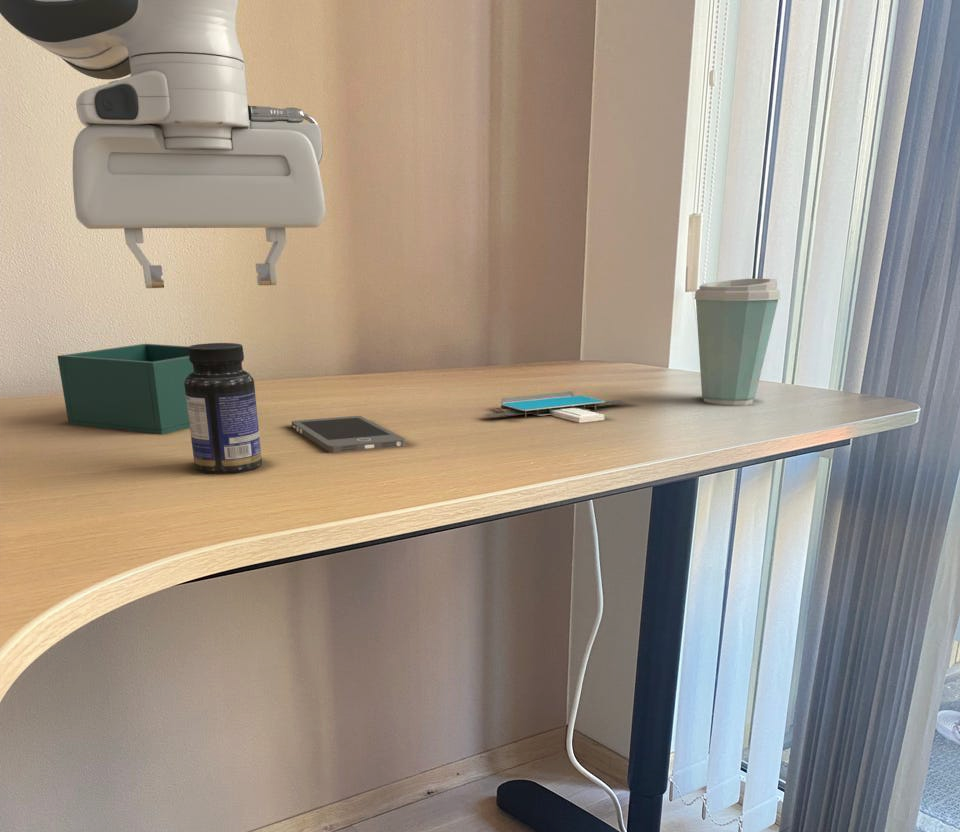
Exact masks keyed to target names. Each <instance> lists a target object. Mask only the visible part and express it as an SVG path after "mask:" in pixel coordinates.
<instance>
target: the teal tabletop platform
mask: <svg viewBox="0 0 960 832" xmlns="http://www.w3.org/2000/svg"><path fill="white" fill-rule="evenodd" d="M621 403H625V401H624V400H618V399H617V400H607V401H605V400H603V399H599V398H594V397H590V396H585V395H574V391H573V390H572V391H564V392H562V391H561V392H554V393H553V392H551V393H542V394H541V393H540V394H531V395H522V396H521V395H520V396H511V397H502V398H501V399H500V401H499V404H500V407H501V408H497V407H496V408H494V411H496V413H486V414H485V416H488V417H491V418H492V417H493V418H494V417H501V416H502V417H503V416H508V417H509V416H519V415H525V416H524V417H525V418H527V415H535V416H537V417H541V416H542V417H543V416H552V417H557V418H560V419H563V420H567V421H572V422H575V423H579V424H580V423H581V424H582V423H589V422H598V421H605V414H603V413H599V412H595V411H591V410H590V409H588V408H593V407H594V410H597V407H602V406H609V405H614V404H621ZM497 412H498V413H497Z"/></svg>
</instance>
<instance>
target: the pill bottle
mask: <svg viewBox="0 0 960 832" xmlns="http://www.w3.org/2000/svg"><path fill="white" fill-rule="evenodd" d="M188 351H189V360H190V362H191V363H192V364H193V368H194V371H193V373H191V374H189V375H188V376H187V378H186V380H185V383H184V384H185V393H186V401H187V409H188V417H189V425H190V427H189V431H190V439H191V440H190V441H191V446H192V456H193V465H194V468H195V470H196V471H198V472H199V473H203V474H208V475H209V474H210V475H211V474H212V475H233V474H241V473H247V472H251V471H255V470H258V469H260V467H262V464H263V458H262V449H261V441H260V440H261V438H260V428H259V417H258V408H257V407H258V406H257V399H256V398H257V397H256V396H257V395H256V387H255V379H254V377H253V376H252V375H251V373H249V372H248V371H246V370H244V369H243V361H244V360H245V354H244V348H243V344H241V343H235V342H233V343H232V342H210V343H209V342H207V343H198V344H192V345H189V347H188Z"/></svg>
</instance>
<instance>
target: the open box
mask: <svg viewBox="0 0 960 832" xmlns="http://www.w3.org/2000/svg"><path fill="white" fill-rule="evenodd" d="M189 346H190V345H189ZM189 346H188V345H187V346H186V345H171V344H156V343H139V344H133V345H132V344H131V345H126V346H119V347H111V348H104V349H103V348H102V349H96V350H89V351H81V352H75V353H68V354H61V355H57V363H58V369H59V374H60V375H59V376H60V380H61V386H62V392H63V398H64V404H65V405H64V406H65V411H66V416H67V423H68V425H75V426H83V427H84V426H85V427H94V428H103V429H111V430H121V431H129V432H130V431H131V432H138V433H146V434H148V433H149V434H156V435H165V434H168V433H172V432H176V431H180V430H184V429H189V428H190V425H189V417H188V409H187V401H186V393H185V384H184V383H185V380H186V378H187V376H188V375H189V374H191V373H193V371H194V368H193V364H192V363H191V362H190V360H189V351H188V347H189Z"/></svg>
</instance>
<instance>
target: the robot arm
mask: <svg viewBox="0 0 960 832" xmlns="http://www.w3.org/2000/svg"><path fill="white" fill-rule="evenodd" d="M238 9H239V0H0V15H1V16H2V17H3V18H4V20H5V21H6V22H7V23H8V24H10V25H11V26H12V27H13V28H14V29H15V30H17V31H18V32H19V33H20V34H21V35H22V36H24V37H26V38H27V39H29V40H30V41H31V42H33V43H35V44H37V45H38V46H40V47H42V48H43V49H44V50H46V51H48V52H50V53H52V54H53V55H56V56H57V57H59V58H61V59H62V61H64V62H65V63H66V64H67V65H69V66H70V67H71V68H72V69H74V70H76V71H77V72H79V73H80V74H82V75H85V76H87V77H90V78H93V79H97V80H98V79H99V80H105V81H106V80H108V81H109V80H113V81H109V82H108V83H105V84H101V85H98V86H95V87H92V88H88V89H85V90H84V91H82V92H80V93H79V95H78V96H77V98H76V102H75V106H76V113H77V117H78V120H79V122H80V123H81V125H83V126H84V128H83V129H81V130H80V131H79V133H77V136H76V138H75V139H74V144H73V148H72V190H73V191H72V192H73V202H74V211H75V217H76V219H77V221H78V222H79V223H80V224H81V225H82V226H83V227H85V228H87V229H88V230H98V229H99V230H109V229H111V230H115V229H119V230H121V229H123V233H124V240H125V244H126V246H127V248H128V249H129V250H130V252H131V253H132V254H133V256H134V257H135V259H136V260H137V262H138V263H139V265H141V266H142V271H143V279H144V285H145V289H164V288H165V282H164V278H163V277H162V276H163V273H164V272H163V266H162V265H161V264H151V262H150V261H149V259H148V258H147V257H146V255H145V254H144V253H143V251H142V249H141V248H140V246H139V245H138V244H144V242H145V240H144V231H143V229H251V228H253V229H259V228H260V229H261V228H262V229H263V228H264V229H265V240H266V242H268V243H271V247H270V250H269V251H268V254H267V255H266V258H265V260H264V262H259V263H257V262H256V263H254V264H255V272H256V273H257V275H256V283H257V285H258V286H277V269H276V264H278V261H279V259H280V257H281V255H282V253H283V251H284V249H285V246H286V243H287V233H286V229H292V228H293V229H300V228H301V229H308V228H311V229H314V228H318V227H320V225H321V224H322V222H323V221H324V219H325V218H326V203H325V202H326V201H325V194H324V187H323V182H322V177H321V172H320V167H319V165H320V163H321V161H322V159H323V153H324V151H323V135H322V130H321V127H320V125H319V123H318V122H317V121H316V119H314V117H312V116H310V115H309V114H307V113H304V111H303V109H302V108H300V107H299V108H298V107H286V108H278V107H271V106H261V105H259V106H257V105H249V101H248V88H247V79H246V67H245V58H244V54H243V51H242V48H241V45H240V42H239V38H238V33H237V13H238ZM304 120H306V121H307V122H303V121H304Z"/></svg>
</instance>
